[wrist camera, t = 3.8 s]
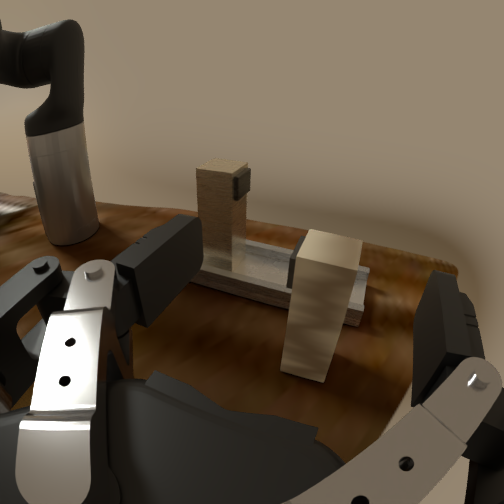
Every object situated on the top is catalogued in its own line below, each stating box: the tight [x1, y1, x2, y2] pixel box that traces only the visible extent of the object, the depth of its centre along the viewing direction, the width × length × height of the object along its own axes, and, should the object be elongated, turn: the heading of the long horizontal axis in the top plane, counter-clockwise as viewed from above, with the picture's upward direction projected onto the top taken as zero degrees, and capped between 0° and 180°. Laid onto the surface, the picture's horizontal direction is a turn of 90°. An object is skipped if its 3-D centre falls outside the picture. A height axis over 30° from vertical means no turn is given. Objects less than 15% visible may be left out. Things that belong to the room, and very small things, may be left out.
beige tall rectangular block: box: [280, 229, 362, 383], centre depth 25 cm, size 4×4×12 cm
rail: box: [190, 158, 370, 327], centre depth 34 cm, size 22×8×13 cm, turn 69°
